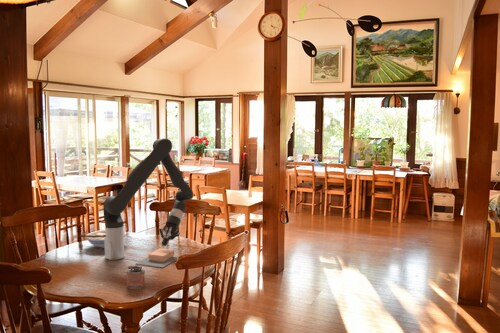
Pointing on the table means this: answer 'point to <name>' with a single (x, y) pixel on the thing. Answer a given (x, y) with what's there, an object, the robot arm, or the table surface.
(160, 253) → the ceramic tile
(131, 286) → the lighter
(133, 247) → the table surface
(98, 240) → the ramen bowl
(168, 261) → the rubber mat
